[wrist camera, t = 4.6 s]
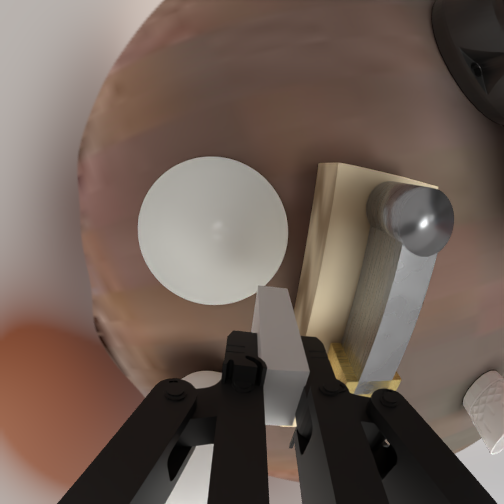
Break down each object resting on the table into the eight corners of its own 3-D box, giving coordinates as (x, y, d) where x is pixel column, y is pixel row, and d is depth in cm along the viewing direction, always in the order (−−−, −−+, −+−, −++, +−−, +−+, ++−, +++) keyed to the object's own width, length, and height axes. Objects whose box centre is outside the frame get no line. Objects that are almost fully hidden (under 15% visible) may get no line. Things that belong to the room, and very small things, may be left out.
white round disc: (145, 152, 20) (142, 152, 19) (297, 166, 20) (298, 166, 19) (140, 291, 23) (137, 294, 22) (275, 308, 23) (275, 312, 22)
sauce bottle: (165, 346, 24) (94, 533, 7) (255, 349, 24) (259, 560, 7) (178, 406, 26) (140, 562, 9) (254, 409, 26) (257, 576, 9)
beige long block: (318, 163, 20) (353, 162, 13) (402, 180, 20) (461, 191, 13) (276, 387, 25) (282, 449, 18) (345, 389, 26) (366, 444, 19)
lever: (367, 175, 15) (403, 179, 11) (419, 187, 15) (461, 196, 11) (320, 377, 19) (332, 420, 15) (365, 377, 19) (384, 416, 15)
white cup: (452, 416, 29) (482, 463, 19) (467, 378, 27) (506, 427, 17) (490, 397, 28) (520, 436, 19) (505, 358, 26) (544, 398, 17)
